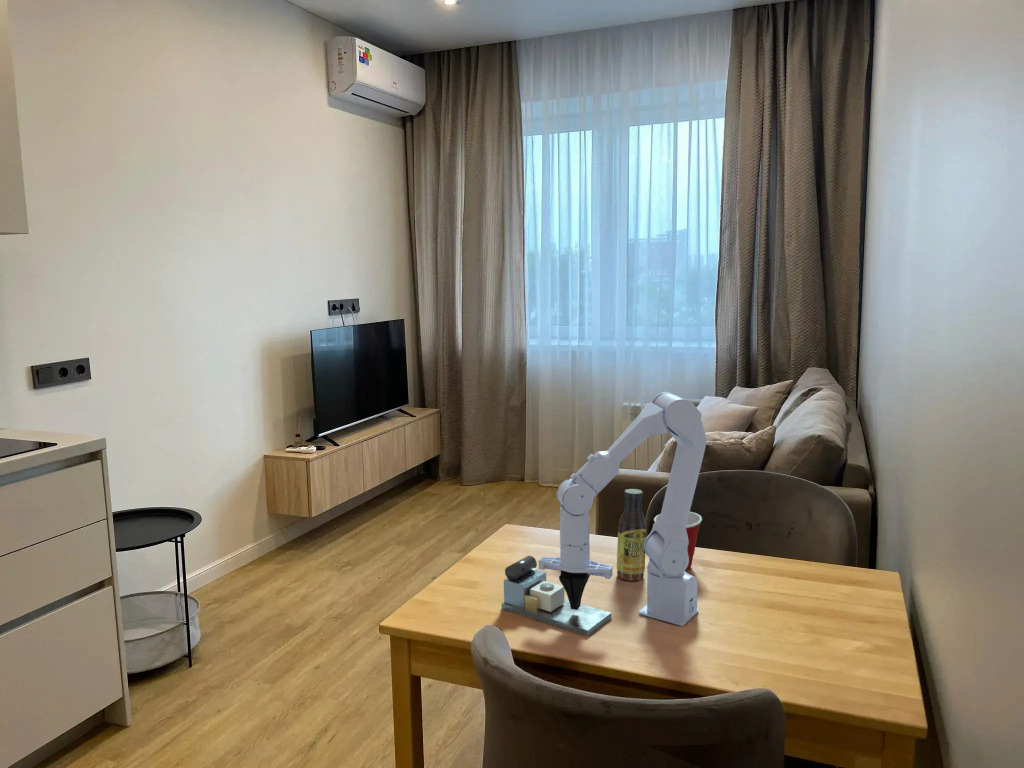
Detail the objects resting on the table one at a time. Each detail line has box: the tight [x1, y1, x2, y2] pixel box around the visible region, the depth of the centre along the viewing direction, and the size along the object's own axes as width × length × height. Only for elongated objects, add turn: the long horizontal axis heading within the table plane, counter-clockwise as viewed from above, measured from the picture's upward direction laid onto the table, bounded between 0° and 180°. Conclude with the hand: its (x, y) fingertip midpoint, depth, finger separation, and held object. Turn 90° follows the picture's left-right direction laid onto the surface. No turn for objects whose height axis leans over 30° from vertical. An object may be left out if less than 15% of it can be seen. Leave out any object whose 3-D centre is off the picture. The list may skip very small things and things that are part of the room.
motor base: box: [501, 555, 612, 637], centre depth 150 cm, size 20×9×9 cm, turn 53°
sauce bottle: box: [616, 488, 647, 582], centre depth 167 cm, size 6×6×20 cm
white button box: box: [530, 580, 565, 612], centre depth 152 cm, size 5×5×4 cm
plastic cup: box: [653, 511, 703, 572], centre depth 173 cm, size 11×11×12 cm
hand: (575, 607), depth 148 cm, fingers closed
